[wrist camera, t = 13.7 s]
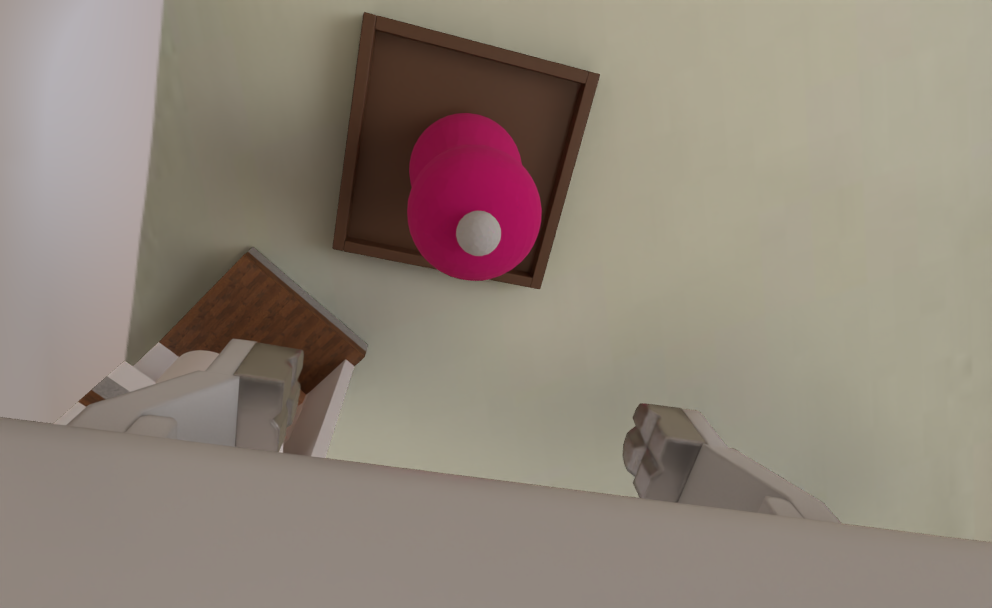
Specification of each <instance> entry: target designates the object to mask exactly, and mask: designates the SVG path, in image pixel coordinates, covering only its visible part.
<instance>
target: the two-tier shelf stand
mask: <svg viewBox="0 0 992 608" xmlns="http://www.w3.org/2000/svg"><path fill="white" fill-rule="evenodd" d="M232 339H241V340H249V341H256V342H257V343H265V344H271V345H277V346H282V347H288V348H294V349H300V350H303V353H304V358H303V368H302V370H301V372H300V375H299V377H298V379H297V380H298V382H299V383H300V385H301V387H300V395H299V400H298V406H297V409H296V413H295V416H294V419H293V421H292V424H291V425H290V426H288V427H287V428H286V436H285V439H284V442H283V444H282V446H281V448H280V450H279V452H281V453H289V454H297V455H305V456H313V457H321V458H325V457H326V454H327V451H328V448H329V445H330V442H331V438H332V435H333V432H334V429H335V426H336V423H337V419H338V416H339V413H340V410H341V407H342V404H343V401H344V397H345V394H346V391H347V388H348V385H349V382H350V379H351V375H352V372H353V369H354V366H355V365H356V364H358V363H359V362H360V361H361V360H362V359H363V358H364V357H365V354H366V351H367V347H368V345H367V344H366V343H365V342H364V341H363V340H362V339H360V338H359V337H358V336H357V335H356V334H355V333H353V332H352V331H351V330H350V329H349V328H348V327H346V326H345V325H344V324H343V323H342V322H340V321H339V320H338V319H337V318H336V317H335V316H333V315H332V314H331V313H330V312H329V311H328V310H326V309H325V308H324V307H323V306H322V305H321V304H319V303H318V302H317V301H316V300H315V299H314V298H312V297H311V296H310V295H309V294H308V293H307V292H305V291H304V290H303V289H302V288H301V287H299V286H298V285H297V284H296V283H295V282H294V281H292V280H291V279H290V278H289V277H288V276H287V275H285V274H284V273H283V272H282V271H281V270H280V269H278V268H277V267H276V266H275V265H274V264H273V263H271V262H270V261H269V260H268V259H267V258H266V257H264V256H263V255H262V254H261V253H260V252H259V251H257V250H256V249H255V248H254V247H252V248H251V249H250V250H249V251H248V252H247V253H246V254H244V255H243V256H242V257H241V258H240V259H239V260H238V261H237V262H236V264H235V265H234V266H233V267H232V268H231V269H230V270H229V271H228V272H227V273H226V274H225V275H224V276H223V277H222V278H221V279H220V280H219V281H218V282H217V283H216V284H215V285H214V286H213V287H212V288H211V289H210V290H209V291H208V292H207V293H206V294H205V295H204V296H203V297H202V298H201V299H200V300H199V301H198V302H197V304H196V305H195V306H194V307H193V308H192V309H191V310H190V311H189V312H188V313H187V314H186V315H185V316H184V317H183V318H182V319H181V320H180V321H179V322H178V323H177V324H176V325H175V326H174V327H173V328H172V329H171V330H170V331H169V332H168V333H167V334H166V335H165V336H164V337H163V338H162V339H161V340H160V341H159V342H158V343H157V344H156V345H155V346H154V347H153V348H152V349H151V350H150V351H149V352H148V353H147V354H146V355H144V356H143V357H142V358H141V359H140V360H139V361H138V362H137V363H136V364H135V365H134V366H132V365H130V364H129V363H127V362H126V361H123V362H122V363H121V364H120V365H119V366H118V367H117V368H116V369H114V370H113V371H112V372H111V373H110V374H109V375H108V376H107V377H105V378H104V379H103V380H102V381H101V382H100V383H99V384H97V385H96V386H95V387H94V388H93V389H92V390H91V391H90V392H89V393H87V394H86V395H85V396H84V397H83V398H82V399H81V400H79V401H78V402H77V403H76V404H75V405H74V406H73V407H71V408H70V409H69V410H68V411H67V412H66V413H65V414H64V415H63V416H61V417H60V418H59V419H58V420H57V421H56V422H54V423H53V424H59V425H67V424H68V423H69V422H70V421H71V420H72V419H74V418H75V417H76V416H77V415H78V414H79V413H80V412H81V411H82V410H83V409H85V408H86V407H87V406H88V405H90V404H93V403H96V402H99V401H102V400H106V399H109V398H112V397H115V396H118V395H121V394H125V393H128V392H131V391H134V390H137V389H140V388H144V387H147V386H150V385H153V384H156V383H159V382H163V381H166V380H169V379H172V378H175V377H178V376H182V375H185V374H188V373H191V372H194V371H197V370H199V371H206V370H207V368H208V367H209V366H210V365H211V363H212V362H213V361H214V360H215V359H216V357H217V356H218V355H219V354H220V353H221V351H222V350H223V349H224V348H225V347H226V345H227V344H228V343H229V342H230V341H231V340H232Z"/></svg>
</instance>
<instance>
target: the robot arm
mask: <svg viewBox="0 0 992 608" xmlns="http://www.w3.org/2000/svg"><path fill="white" fill-rule="evenodd" d="M303 358H304V353H303V350H300V349H294V348H288V347H282V346H277V345H271V344H265V343H257V342H256V341H249V340H241V339H232V340H231V341H230V342H229V343H228V344H227V345H226V347H225V348H224V349H223V350H222V351H221V353H220V354H219V355H218V356H217V357H216V359H215V360H214V361H213V362H212V363H211V365H210V366H209V367H208V368H207V370H206V371H199V370H197V371H194V372H191V373H188V374H185V375H182V376H178V377H175V378H172V379H169V380H166V381H163V382H159V383H156V384H153V385H150V386H147V387H144V388H140V389H137V390H134V391H131V392H128V393H125V394H121V395H118V396H115V397H112V398H109V399H106V400H102V401H99V402H96V403H93V404H90V405H88V406H87V407H86V408H85V409H83V410H82V411H81V412H80V413H79V414H78V415H77V416H76V417H75V418H74V419H72V420H71V421H70V422H69V423H68V424H67V425H59V424H51V423H43V422H35V421H27V420H19V419H11V418H3V417H0V608H992V542H987V541H978V540H969V539H961V538H953V537H944V536H937V535H929V534H921V533H913V532H905V531H898V530H890V529H882V528H874V527H866V526H858V525H850V524H842V523H841V522H840V521H839V520H838V518H837V517H836V516H835V515H834V514H833V513H832V512H831V511H830V509H829V508H828V507H827V506H826V505H825V504H824V503H823V502H822V501H820V500H818V499H817V498H815V497H813V496H812V495H810V494H808V493H807V492H805V491H803V490H802V489H800V488H798V487H797V486H795V485H793V484H792V483H790V482H788V481H787V480H785V479H784V478H782V477H780V476H779V475H777V474H775V473H774V472H772V471H770V470H769V469H767V468H765V467H764V466H762V465H760V464H759V463H757V462H755V461H754V460H752V459H750V458H749V457H747V456H745V455H744V454H742V453H741V452H739V451H737V450H736V449H734V448H728V447H727V445H726V444H725V443H724V442H723V440H722V439H721V438H720V436H719V435H718V434H717V432H716V431H715V430H714V429H713V427H712V426H711V425H710V423H709V422H708V421H707V420H706V418H705V417H704V416H703V414H702V413H701V412H699V411H697V410H691V409H681V408H676V407H668V406H661V405H653V404H639V406H638V407H637V408H636V410H635V413H634V416H633V420H634V423H635V427H634V428H633V429H631V430H630V431H629V432H628V433H627V435H626V438H625V441H624V444H623V460H624V464H625V467H626V469H627V471H628V472H630V473H631V474H632V475H633V476H635V479H634V481H633V484H634V486H635V489H636V491H637V493H638V495H639V497H640V498H636V497H628V496H620V495H612V494H604V493H596V492H588V491H580V490H572V489H564V488H556V487H549V486H541V485H533V484H525V483H517V482H509V481H501V480H494V479H486V478H478V477H470V476H462V475H454V474H446V473H439V472H431V471H423V470H415V469H407V468H399V467H391V466H384V465H376V464H368V463H360V462H352V461H344V460H336V459H329V458H321V457H313V456H305V455H297V454H289V453H281V452H279V450H280V448H281V446H282V444H283V442H284V439H285V436H286V428H287V427H288V426H290V425H291V424H292V421H293V419H294V416H295V413H296V409H297V406H298V400H299V395H300V387H301V385H300V383H299V382H298V380H297V379H298V377H299V375H300V372H301V370H302V368H303Z"/></svg>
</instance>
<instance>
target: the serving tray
mask: <svg viewBox="0 0 992 608" xmlns="http://www.w3.org/2000/svg"><path fill="white" fill-rule="evenodd" d="M599 76H600V74H597V73H593V72H588V71H585V70H581V69H578V68H574V67H570V66H566V65H563V64H559V63H555V62H551V61H547V60H544V59H540V58H536V57H532V56H529V55H525V54H521V53H517V52H513V51H510V50H506V49H502V48H498V47H495V46H491V45H487V44H483V43H479V42H476V41H472V40H468V39H464V38H460V37H457V36H453V35H449V34H445V33H442V32H438V31H434V30H430V29H426V28H423V27H419V26H415V25H411V24H408V23H404V22H400V21H396V20H392V19H389V18H385V17H381V16H376V15H373V14H370V13H366V12H364V14H363V21H362V29H361V37H360V44H359V52H358V59H357V67H356V74H355V82H354V89H353V97H352V105H351V112H350V120H349V127H348V135H347V142H346V150H345V157H344V165H343V173H342V180H341V188H340V195H339V203H338V210H337V218H336V226H335V233H334V241H333V249H336V250H341V251H343V250H344V251H345V252H350V253H356V254H361V255H366V256H371V257H376V258H381V259H386V260H392V261H397V262H402V263H407V264H412V265H417V266H422V267H428V268H433V269H436V268H435V267H433V266H432V265H431V264H430V263H429V262H428V261H427V260H426V259H425V258H424V257H423V256H422V255H421V253H420V252H419V250H418V248H417V247H416V245H415V243H414V241H413V239H412V236H411V234H410V230H409V226H408V216H407V207H408V198H409V195H410V192H411V188H412V187H411V182H410V175H409V164H410V158H411V154H412V151H413V148H414V145H415V144H416V142H417V140H418V138H419V137H420V136H421V134H422V133H423V132H424V131H425V130H426V129H427V128H428V127H429V126H430V125H431V124H433V123H434V122H436V121H437V120H439V119H441V118H444V117H446V116H449V115H453V114H459V113H471V114H478V115H481V116H484V117H487V118H489V119H491V120H493V121H495V122H496V123H498V124H499V125H500V126H501V127H503V128H504V129H505V130H506V131H507V133H508V134H509V135H510V136H511V137H512V139H513V141H514V142H515V144H516V146H517V149H518V151H519V154H520V157H521V162H522V166H523V167H525V169H526V170H527V171H528V173H529V174H530V176H531V177H532V179H533V181H534V183H535V185H536V187H537V190H538V193H539V196H540V201H541V208H542V213H541V225H540V229H539V233H538V236H537V238H536V241H535V243H534V245H533V247H532V249H531V250H530V252H529V254H528V255H527V256H526V257H525V258H524V259H523V260H522V262H521V263H519V264H518V265H517V266H516V267H514V268H513V269H512V270H510V271H508V272H506V273H505V274H503V275H501V276H498V277H495V278H492V279H489V280H494V281H500V282H505V283H510V284H515V285H520V286H525V287H531V288H536V289H540V287H541V284H542V280H543V277H544V273H545V270H546V266H547V262H548V259H549V255H550V252H551V248H552V244H553V241H554V237H555V234H556V230H557V227H558V223H559V219H560V216H561V212H562V209H563V205H564V202H565V198H566V194H567V191H568V187H569V184H570V180H571V177H572V173H573V169H574V166H575V162H576V159H577V155H578V152H579V148H580V144H581V141H582V137H583V134H584V130H585V127H586V123H587V119H588V116H589V112H590V109H591V105H592V102H593V98H594V94H595V91H596V87H597V84H598V80H599Z"/></svg>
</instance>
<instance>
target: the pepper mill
mask: <svg viewBox="0 0 992 608" xmlns="http://www.w3.org/2000/svg"><path fill="white" fill-rule="evenodd" d="M409 175H410V182H411V187H412V188H411V192H410V195H409V198H408V207H407V216H408V226H409V230H410V234H411V236H412V239H413V241H414V243H415V245H416V247H417V248H418V250H419V252H420V253H421V255H422V256H423V257H424V258H425V259H426V260H427V261H428V262H429V263H430V264H431V265H432V266H433V267H435V268H436V269H438V270H439V271H441V272H443V273H445V274H447V275H449V276H451V277H455V278H458V279H463V280H470V281H483V280H488V279H492V278H495V277H498V276H501V275H503V274H505V273H506V272H508V271H510V270H512V269H513V268H514V267H516V266H517V265H518V264H519V263H521V262H522V260H523V259H524V258H525V257H526V256H527V255H528V254H529V252H530V250H531V249H532V247H533V245H534V243H535V241H536V238H537V236H538V233H539V229H540V225H541V213H542V208H541V201H540V196H539V193H538V190H537V187H536V185H535V183H534V181H533V179H532V177H531V176H530V174H529V173H528V171H527V170H526V169H525V167H523V166H522V162H521V157H520V154H519V151H518V149H517V146H516V144H515V142H514V141H513V139H512V137H511V136H510V135H509V134H508V133H507V131H506V130H505V129H504V128H503V127H501V126H500V125H499V124H498V123H496V122H495V121H493V120H491V119H489V118H487V117H484V116H481V115H478V114H471V113H459V114H453V115H449V116H446V117H444V118H441V119H439V120H437V121H436V122H434V123H433V124H431V125H430V126H429V127H428V128H427V129H426V130H425V131H424V132H423V133H422V134H421V136H420V137H419V138H418V140H417V142H416V144H415V145H414V148H413V151H412V154H411V158H410V164H409Z"/></svg>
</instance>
